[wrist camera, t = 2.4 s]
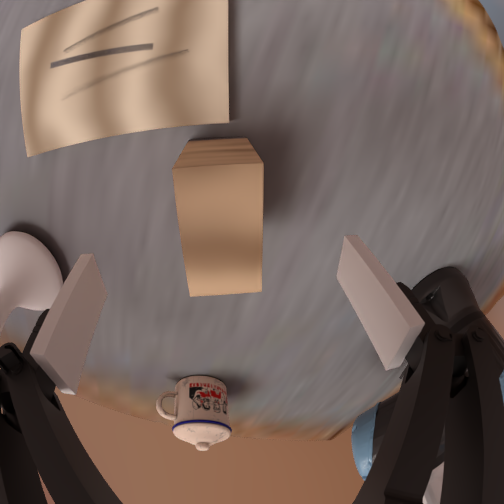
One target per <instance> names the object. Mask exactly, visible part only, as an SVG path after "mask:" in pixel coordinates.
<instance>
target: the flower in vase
mask: <svg viewBox="0 0 504 504" xmlns="http://www.w3.org/2000/svg"><path fill="white" fill-rule="evenodd" d="M62 286H63V280H62V275H61V271H60V269H59V266H58V264H57V262H56V260H55V258H54V257H53V255H52V254H51V253H50V251H49V250H48V249H47V248H46V247H45V246H44V245H43V244H42V243H41V242H40V241H39V240H37V239H36V238H35V237H33V236H31V235H29V234H27V233H24V232H18V231H10V232H7V233H5V234H3V235H2V236H1V237H0V334H1V331H2V328H3V326H4V323H5V321H6V319H7V318H8V316H9V314H10V313H11V311H12V310H13V309H14V308H16V307H23V308H27V309H31V310H46V309H50V308H51V306H52V304H53V302H54V300H55V299H56V297H57V295H58V293H59V291H60V289H61V288H62Z"/></svg>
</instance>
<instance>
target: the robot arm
mask: <svg viewBox="0 0 504 504" xmlns="http://www.w3.org/2000/svg"><path fill="white" fill-rule="evenodd" d="M336 278H337V280H338V281H339V283H340V285H341V287H342V288H343V290H344V292H345V294H346V296H347V297H348V299H349V301H350V303H351V305H352V306H353V308H354V310H355V312H356V314H357V316H358V317H359V319H360V321H361V323H362V325H363V327H364V329H365V330H366V332H367V334H368V336H369V338H370V340H371V342H372V344H373V346H374V348H375V350H376V352H377V354H378V356H379V358H380V360H381V362H382V364H383V366H384V368H385V370H389V369H393V368H396V367H399V366H400V365H401V364H402V362H403V361H404V359H405V358H406V360H407V362H408V365H407V367H406V368H405V370H404V371H403V373H402V374H401V376H400V379H402V377H403V376H404V377H403V381H402V384H401V388H400V391H399V392H398V393H396V394H395V395H393V396H391V397H390V398H388V399H386V400H384V401H383V402H379V403H377V404H376V406H374V407H372V408H371V409H369V410H367V411H366V412H364V413H362V414H361V415H359V416H358V417H357V418H356V420H355V422H354V424H353V428H352V437H351V438H352V450H353V456H354V460H355V463H356V466H357V469H358V472H359V474H360V475H361V476H362V478H363V480H364V484H363V486H362V487H361V489H360V491H359V493H358V495H357V497H356V499H355V501H354V502H353V503H352V504H504V340H503V338H502V337H501V335H500V334H499V333H498V332H497V330H496V329H495V328H494V326H493V325H492V324H491V323H490V321H489V320H488V319H487V318H486V316H485V315H484V314H483V313H482V311H481V310H480V309H479V306H478V304H477V301H476V299H475V296H474V294H473V292H472V290H471V288H470V285H469V282H468V280H467V278H466V277H465V276H464V275H463V274H462V273H461V272H460V271H459V270H458V269H456V268H453V267H448V268H443V269H440V270H438V271H436V272H434V273H432V274H431V275H429V276H428V277H426V278H425V279H424V280H422V281H421V282H420V283H419V284H418V285H417V286H416V287H415V288H414V289H413V290H412V291H411V290H410V288H408V287H407V286H406V285H404V284H403V283H401V282H398V283H395V281H394V280H393V279H392V277H391V276H390V275H389V274H388V272H387V271H386V270H385V268H384V267H383V266H382V265H381V263H380V262H379V261H378V260H377V258H376V257H375V256H374V255H373V253H372V252H371V251H370V250H369V249H368V247H367V246H366V245H365V244H364V243H363V241H362V240H361V239H360V238H359V237H358V235H347V236H344V241H343V247H342V252H341V257H340V262H339V267H338V272H337V276H336ZM106 297H107V291H106V289H105V286H104V283H103V281H102V278H101V275H100V272H99V270H98V267H97V264H96V261H95V258H94V255H93V253H91V254H81V255H80V257H79V259H78V260H77V262H76V263H75V265H74V267H73V268H72V270H71V272H70V274H69V275H68V277H67V279H66V280H65V282H64V284H63V286H62V288H61V289H60V291H59V293H58V295H57V297H56V299H55V300H54V302H53V304H52V306H51V308H50V309H46V310H45V311H44V312H43V313H42V314H41V315H40V317H39V319H38V321H37V323H36V326H35V327H34V329H33V331H32V333H31V335H30V337H29V339H28V341H27V344H26V346H25V348H24V350H23V353H21V352H20V350H19V349H18V348H17V346H16V345H15V344H14V343H6V344H4V345H2V346H1V347H0V368H1V369H0V504H47V500H46V498H45V494H44V491H43V488H42V485H41V481H40V478H39V474H40V476H41V478H42V480H43V482H44V484H45V486H46V488H47V490H48V491H49V493H50V495H51V497H52V498H53V500H54V502H55V504H123V503H122V502H121V501H120V500H119V498H118V497H117V496H116V495H115V493H114V492H113V491H112V489H111V488H110V487H109V485H108V484H107V482H106V481H105V480H104V478H103V477H102V475H101V474H100V472H99V471H98V469H97V468H96V466H95V465H94V463H93V462H92V460H91V458H90V457H89V455H88V454H87V452H86V450H85V449H84V447H83V445H82V444H81V442H80V440H79V438H78V436H77V435H76V433H75V431H74V429H73V427H72V425H71V424H70V421H69V419H68V418H67V416H66V414H65V411H64V409H63V407H62V405H61V403H60V401H59V399H58V396H57V395H56V394H55V392H54V390H55V386H57V387H58V389H59V390H60V391H61V392H62V393H67V394H74V395H76V392H77V388H78V385H79V381H80V377H81V373H82V370H83V366H84V363H85V359H86V356H87V352H88V349H89V346H90V343H91V340H92V337H93V334H94V331H95V328H96V325H97V322H98V319H99V316H100V313H101V311H102V308H103V305H104V302H105V300H106ZM1 408H2V409H3V414H2V413H1ZM38 472H39V474H38Z"/></svg>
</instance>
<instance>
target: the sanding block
mask: <svg viewBox="0 0 504 504" xmlns="http://www.w3.org/2000/svg"><path fill="white" fill-rule="evenodd" d="M172 171H173V181H174V190H175V199H176V207H177V215H178V222H179V230H180V237H181V244H182V250H183V257H184V263H185V269H186V275H187V281H188V287H189V292H190V297H191V296H208V295H224V294H238V293H251V292H262V243H263V175H264V163H263V162H262V160H261V159H260V157H259V156H258V154H257V153H256V151H255V150H254V148H253V147H252V145H251V144H250V142H249V141H248V139H247V138H246V137H229V138H211V139H197V140H189V141H188V143H187V144H186V146H185V148H184V149H183V151H182V153H181V154H180V156H179V158H178V160H177V161H176V163H175V165H174V167H173V168H172Z"/></svg>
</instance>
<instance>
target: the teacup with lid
mask: <svg viewBox="0 0 504 504" xmlns="http://www.w3.org/2000/svg"><path fill="white" fill-rule="evenodd" d="M165 397H174V398H175V409H174V415H173V414H169V413H167V412H166V411H165V410H164V409H163V408H162V400H163V398H165ZM156 408H157V411H158V413H159V414H160V415H161V416H163V417H164V418H166V419H170V420H174V426H173V428H172V430H173V433H174V435H175V436H176V437H177V438H179V439H181V440H183V441H186V442H189V443H191V444H193V445H196V449H197V450H201V451H206V450H208V449H209V445H213V444H215V443H217V442H221V441H224V440H226V439H227V438H229V436H230V435H231V431H232V430H231V428H230V425H229V414H228V403H227V391H226V386H225V385H224V383H223V382H221V381H220V380H218V379H215V378H212V377H208V376H190V377H186V378H183V379H181V380H180V381H179V382H178V383H177V384H176V387H175V392H173V391H167V392H164V393H162V394H161V395H160V396H159V398H158V399H157V402H156Z"/></svg>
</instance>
